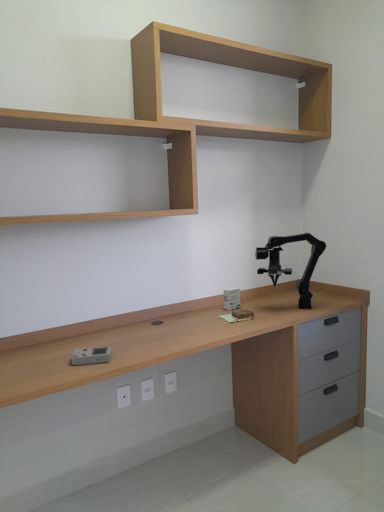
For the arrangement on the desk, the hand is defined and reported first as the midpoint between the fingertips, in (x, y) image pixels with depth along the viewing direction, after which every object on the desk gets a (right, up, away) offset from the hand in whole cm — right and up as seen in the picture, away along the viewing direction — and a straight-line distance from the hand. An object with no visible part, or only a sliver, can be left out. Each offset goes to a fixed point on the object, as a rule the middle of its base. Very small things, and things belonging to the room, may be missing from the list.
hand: (274, 286), depth 215 cm
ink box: (-23, -14, +6) cm, 28 cm away
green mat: (-23, -16, -13) cm, 31 cm away
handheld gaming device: (-86, -25, -63) cm, 110 cm away
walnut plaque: (-15, -13, -11) cm, 23 cm away
